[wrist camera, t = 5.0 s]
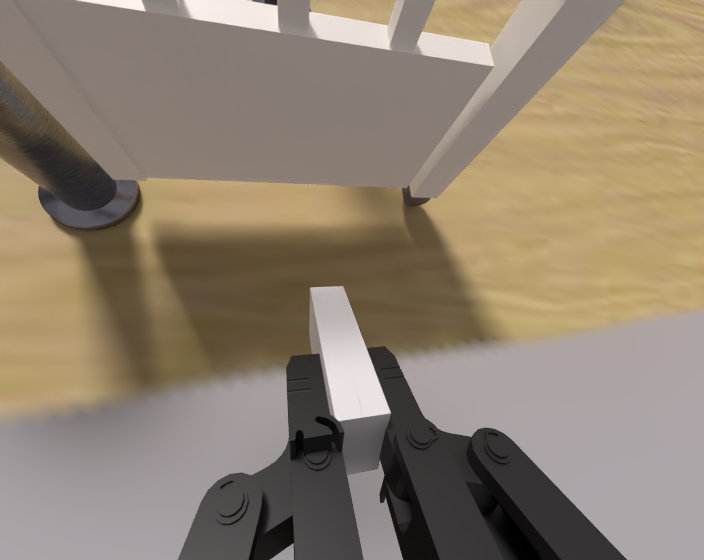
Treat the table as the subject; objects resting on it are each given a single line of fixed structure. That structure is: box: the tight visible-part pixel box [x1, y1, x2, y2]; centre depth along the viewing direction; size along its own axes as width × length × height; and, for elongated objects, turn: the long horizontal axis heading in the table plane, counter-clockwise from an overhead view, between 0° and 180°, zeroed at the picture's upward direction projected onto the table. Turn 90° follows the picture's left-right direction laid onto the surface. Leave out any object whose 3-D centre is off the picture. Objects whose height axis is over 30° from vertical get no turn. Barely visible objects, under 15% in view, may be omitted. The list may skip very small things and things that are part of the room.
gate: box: [0, 0, 625, 206], centre depth 13 cm, size 20×2×18 cm, turn 95°
